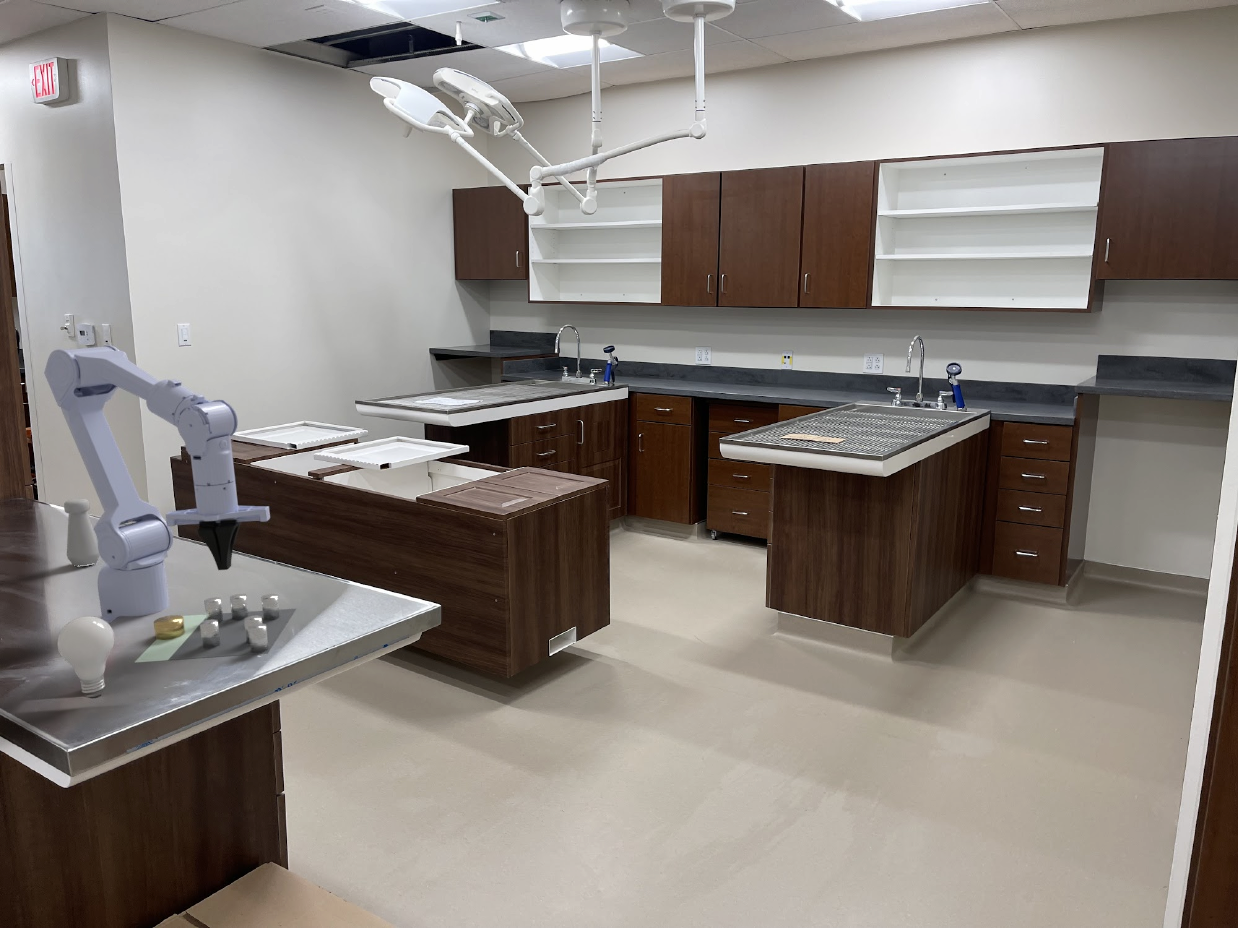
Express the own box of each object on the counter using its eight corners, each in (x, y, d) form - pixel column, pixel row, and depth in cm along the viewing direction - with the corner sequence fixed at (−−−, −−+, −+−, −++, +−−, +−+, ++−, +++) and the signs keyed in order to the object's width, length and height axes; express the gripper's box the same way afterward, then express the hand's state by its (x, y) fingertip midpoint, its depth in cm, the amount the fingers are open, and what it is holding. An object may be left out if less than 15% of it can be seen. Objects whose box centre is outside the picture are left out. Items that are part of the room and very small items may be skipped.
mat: (135, 670, 126) (134, 662, 126) (180, 623, 144) (179, 616, 143) (268, 660, 128) (267, 652, 128) (297, 615, 146) (296, 608, 145)
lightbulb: (81, 687, 121) (69, 610, 119) (130, 684, 121) (119, 607, 119) (56, 709, 115) (43, 628, 112) (108, 706, 115) (96, 625, 113)
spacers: (174, 658, 127) (171, 635, 126) (211, 616, 143) (209, 595, 142) (266, 652, 128) (263, 629, 127) (292, 611, 144) (290, 590, 143)
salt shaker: (108, 562, 177) (99, 498, 174) (78, 570, 172) (68, 504, 170) (92, 558, 180) (83, 495, 177) (62, 566, 175) (52, 501, 173)
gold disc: (151, 641, 133) (149, 625, 133) (161, 630, 137) (159, 616, 137) (180, 638, 134) (178, 623, 133) (188, 628, 138) (186, 614, 137)
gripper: (154, 490, 131) (165, 579, 134) (257, 485, 133) (266, 573, 136) (171, 480, 138) (182, 564, 141) (269, 475, 140) (278, 559, 143)
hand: (224, 568), depth 139 cm, fingers closed
